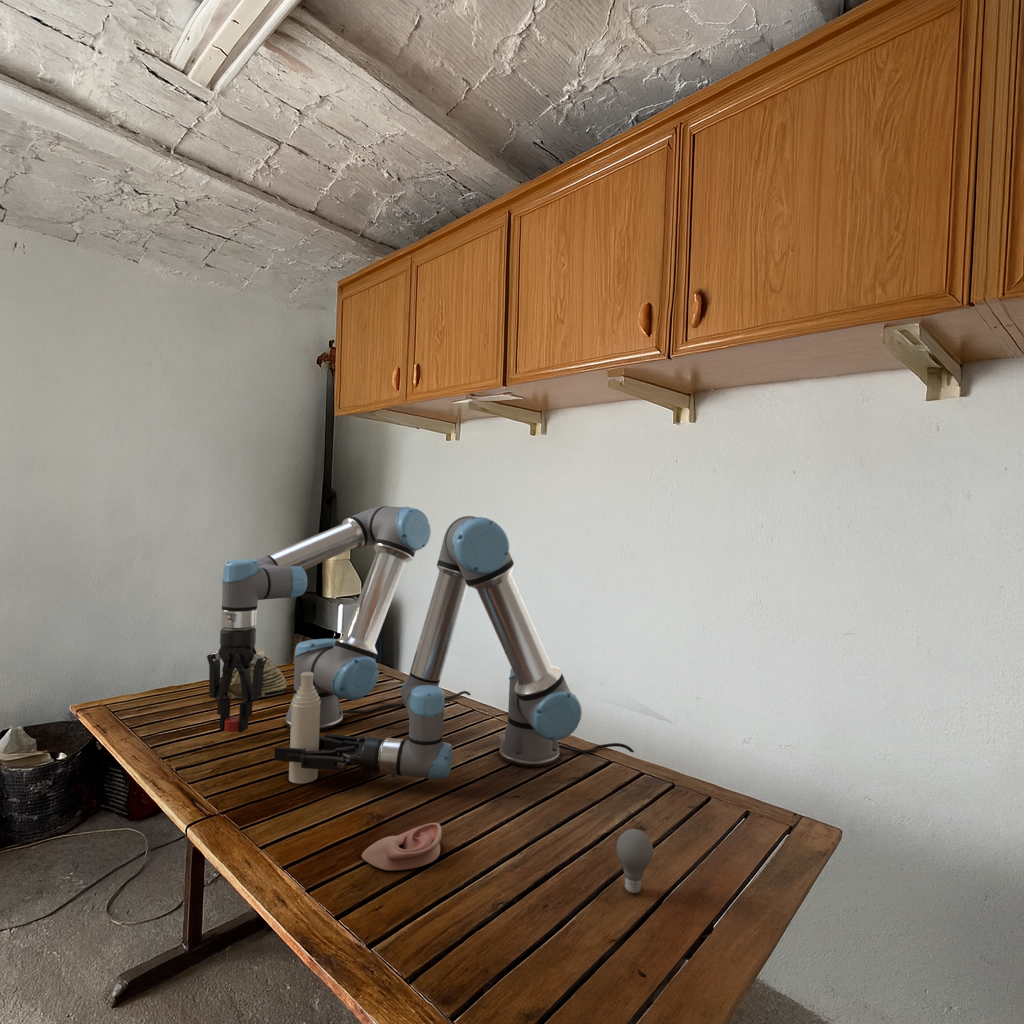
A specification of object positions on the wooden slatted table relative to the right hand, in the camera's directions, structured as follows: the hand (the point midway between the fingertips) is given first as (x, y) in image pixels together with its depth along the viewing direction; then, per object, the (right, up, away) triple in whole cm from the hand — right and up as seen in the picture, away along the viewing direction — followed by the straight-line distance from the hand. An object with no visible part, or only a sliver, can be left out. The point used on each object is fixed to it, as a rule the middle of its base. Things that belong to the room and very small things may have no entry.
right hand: (282, 747), depth 143 cm
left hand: (-12, +3, +2) cm, 12 cm away
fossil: (-29, -4, +55) cm, 62 cm away
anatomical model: (+32, -8, -29) cm, 44 cm away
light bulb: (+72, -10, -37) cm, 82 cm away
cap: (-12, +6, +2) cm, 13 cm away
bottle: (+5, -7, 0) cm, 8 cm away
